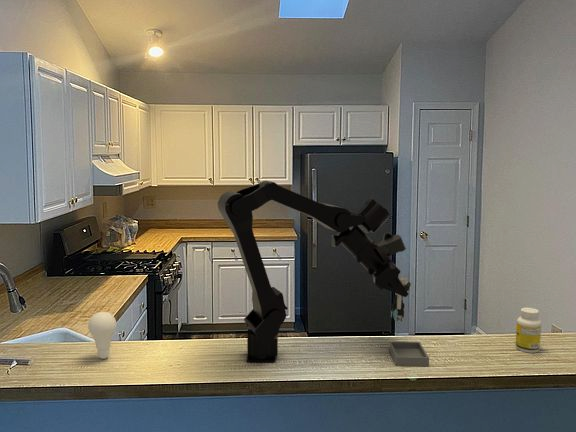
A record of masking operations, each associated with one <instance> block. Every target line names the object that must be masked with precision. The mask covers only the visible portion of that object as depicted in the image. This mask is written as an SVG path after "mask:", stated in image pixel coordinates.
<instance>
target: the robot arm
mask: <svg viewBox="0 0 576 432" xmlns="http://www.w3.org/2000/svg"><path fill="white" fill-rule="evenodd" d="M270 201H273V202H275V203H277V204H280V205H282V206H284V207H286V208H290V209H292V210H294V211H296V212H299V213H302V214H304V215H306V216H308V217H310V218H311V219H312V220H314V221H315V222H317V224H319V225H321V226H323V227H324V228H325V229H329V230H331V231H334V232H336V233H337V235H335V234H332V235H331V237H330V238H331V247H332V248H333V247H338V246H340V244H341V245H342V247H344V248H345V249H346V251H348V252H349V253H350V255H352V256H353V258H354V259H355V260H356V262H357V263H359V264H360V265H361V266H362V267H363V268H364V269H365V270H366V271H367V273H368V274H369V275H370V276H372V281H373V283H374V284H375V286H377V288H378V289H379V290H381V291H382V290H387V291H389V292H391V293H394V294H395V293H396V294H399V295H401V296H403V297H404V298H407V297H408V296H409V292H408V291H406V289H405V288H404V286H403V284H402V283H401V281H400V280H399V278H398V277H400V276H399V275H400V274H401V270H400V269H399V267H397V264H395V263H394V262H393V260H392V259H391V258H390V257H391V256H393V255H395V254H397V253H400V252H401V253H403V252H404V251H406V250H407V248H406V246H405V243H404V241H403V238H402V236H401V235H399V234H394V235H393V234H392V233H390V232H389V231H388V232H385V233H384V234H382V235H383V236H382V238H383V239H382V240H380V242H378V243H377V242H375V240H372V239H371V238H369V236H368V235H367V234H369V233H371V234H375V233H376V232H377V231H378V230H379V229H380V228H381V227H382V226H383V224H384V223H386V222H387V220H389V219H390V217H391V214H390V213H389V211H388V210H387V209H386V208H385V207H383V206H382V205H381V204H380V203H379V202H376V200H375V198H370V197H369V198H368V199H367V200H366V201H365V202H364V204H363V205H362V206H361V207H360V208H359V209H358V210H357V211H356V212H353V211H350V210H349V209H347V208H345V207H341V206H337V205H334V204H329V203H323V202H319V201H316V200H314V199H311V198H309V197H307V196H304V195H302V194H299V193H297V192H295V191H292V190H291V189H288V188H285V187H283V186H280V185H279V184H278V183H276V182H274V181H271V180H262V181H260V182H259V183H256V184H254V185H251V186H247V187H245V188H241V189H240V190H237V191H231V190H230V191H225V192H224V193H223V194H222V195H220V196H219V199H218V201H217V208H218V212H219V213H220V214H221V216H222V218H223V221H225V223H226V225H227V226H228V227H229V229H230V231H231V233H232V234H233V236H234V239H235V242H236V245H237V249H238V250H239V254H240V256H241V257H240V258H241V260H242V263H243V266H244V268H245V272H246V275H247V278H248V281H249V283H250V286H251V291H252V292H251V293H252V294H251V301H252V302H251V304H252V309H251V311H249V312H248V313H247V315H246V316H245V317H244V318H243V322H244V324H245V326H246V327H247V332H246V335H247V336H246V338H247V340H246V341H247V351H246V352H247V355H246V362H247V363H275V362H276V358H277V357H278V353H279V349H278V347H279V336H278V334H279V332H280V328H281V327H282V325H283V323H284V322H285V320H286V318H287V311H288V309H289V308H288V306H286V304H285V299H284V294H283V293H282V292H281V291H280V290H278V288H276V287H275V286H272V285H271V282H270V279H269V277H268V273H267V270H266V268H265V265H264V261H263V258H262V255H261V252H260V249H259V246H258V243H257V240H256V237H255V234H254V230H253V223H254V222H253V221H254V220H253V218H254V217H253V211H255V210H258V209H259V208H260V207H263V206H264V205H265V204H267V203H269V202H270ZM286 310H287V311H286Z"/></svg>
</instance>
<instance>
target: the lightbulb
mask: <svg viewBox="0 0 576 432" xmlns="http://www.w3.org/2000/svg"><path fill="white" fill-rule="evenodd" d="M117 323H118V322H117V320H116V318H115V316H114V315H113V314H112V313H111V312H110V313H109V312H108V311H99V312H97V313H94V314H93V315H92V316H91V317H90V319H89V321H88V325H87V329H88V332H89V333H90V335H91V336H92V338H93V341H94V343H95V348H96V350H97V357H98V358H99V359H102V360H106V359H107V358H108V357H110V355H111V354H110V348H111V346H112V345H111V343H112V338H113V336H114V334H115V331H116V329H117Z"/></svg>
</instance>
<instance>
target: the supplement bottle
mask: <svg viewBox="0 0 576 432" xmlns="http://www.w3.org/2000/svg"><path fill="white" fill-rule="evenodd" d="M539 316H540V310H539V309H536V308H534V307H533V308H532V307H522V308H521V309H520V316H519V317H517V320H516V331H515V333H516V334H515V348H516V349H517V350H519V351H521V352H524V353H528V354H529V353H530V354H532V353H533V354H534V353H538V352H540V349H541V340H542V337H541V336H542V335H541V334H542V321H541V319H539Z"/></svg>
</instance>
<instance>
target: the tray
mask: <svg viewBox="0 0 576 432" xmlns="http://www.w3.org/2000/svg"><path fill="white" fill-rule="evenodd" d="M388 343H389V345H388V350H389V352H390V355H391V358H392V359H393V362H394V364H395V366H396V367H429V366H430V357H429V355H428V353H427V352H426V350H425V348H424V347H423V345H422V343H421V342H420V341H389V342H388Z"/></svg>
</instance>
